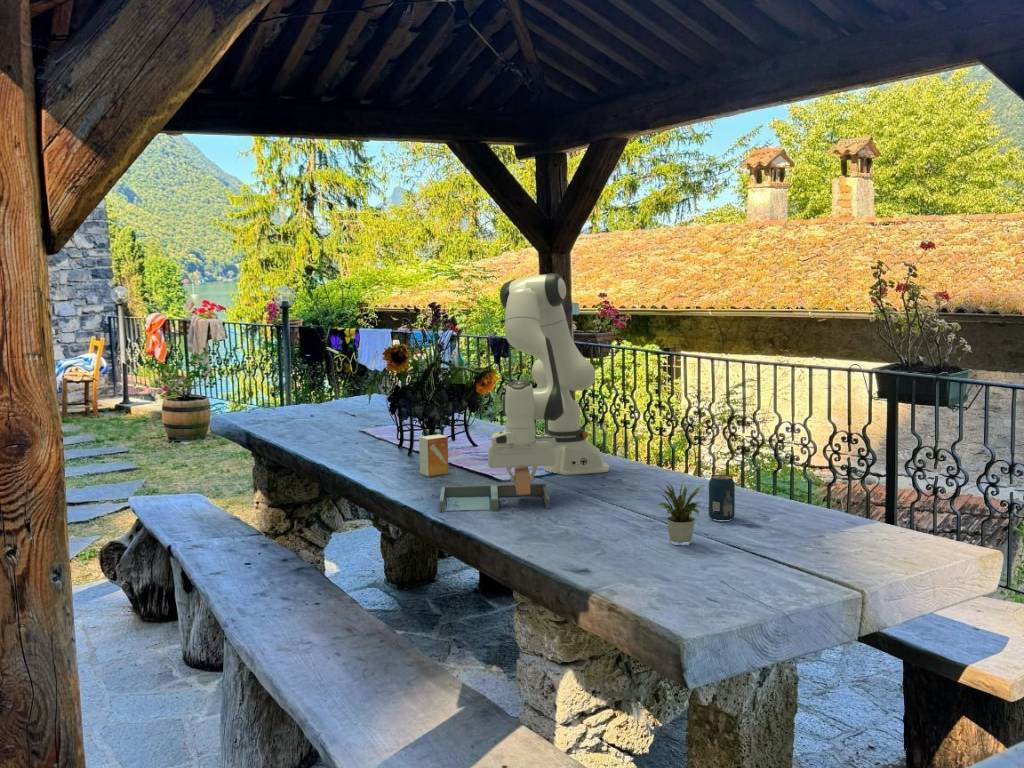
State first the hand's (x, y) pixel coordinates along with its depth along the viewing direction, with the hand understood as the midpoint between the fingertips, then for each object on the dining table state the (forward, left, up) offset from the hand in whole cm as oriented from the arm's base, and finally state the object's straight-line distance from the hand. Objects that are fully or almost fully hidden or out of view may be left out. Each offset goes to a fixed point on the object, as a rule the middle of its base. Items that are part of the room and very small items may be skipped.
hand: (522, 481), depth 277 cm
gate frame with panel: (+8, 0, -7) cm, 11 cm away
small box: (+28, -43, -7) cm, 52 cm away
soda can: (-54, +25, -7) cm, 60 cm away
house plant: (-37, +45, -7) cm, 58 cm away
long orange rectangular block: (0, 0, -3) cm, 3 cm away
